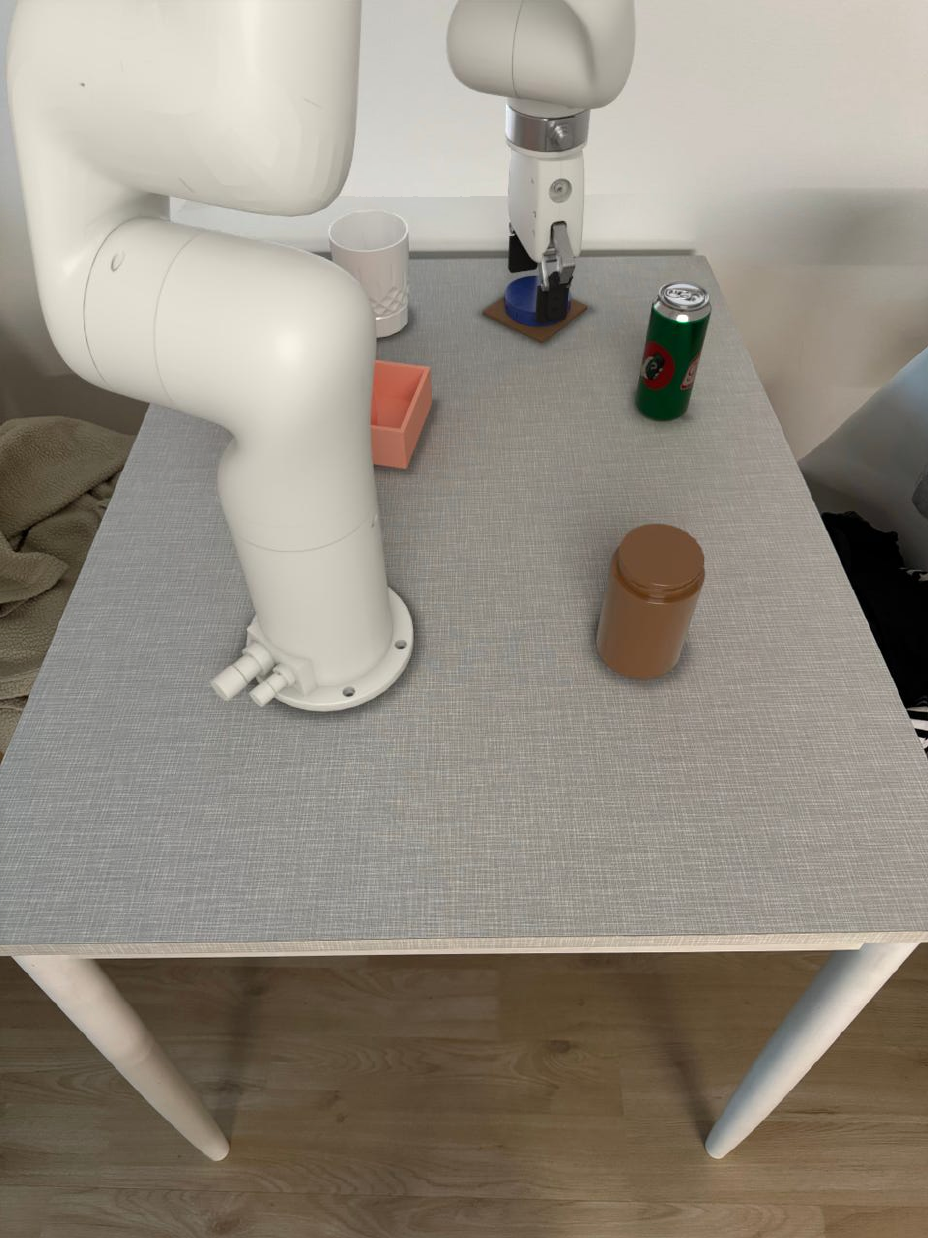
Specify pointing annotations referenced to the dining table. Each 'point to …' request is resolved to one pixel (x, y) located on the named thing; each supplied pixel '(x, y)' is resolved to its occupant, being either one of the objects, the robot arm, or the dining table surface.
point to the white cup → (376, 262)
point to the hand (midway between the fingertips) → (536, 294)
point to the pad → (534, 332)
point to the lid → (525, 300)
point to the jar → (649, 600)
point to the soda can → (672, 350)
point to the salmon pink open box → (398, 411)
